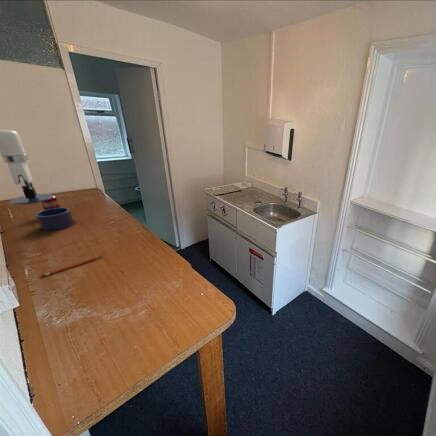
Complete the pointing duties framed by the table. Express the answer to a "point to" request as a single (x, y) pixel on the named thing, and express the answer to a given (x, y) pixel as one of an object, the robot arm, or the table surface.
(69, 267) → the pencil
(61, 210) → the pot
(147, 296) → the table surface
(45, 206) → the soda can
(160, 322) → the table surface
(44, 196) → the lid
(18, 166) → the robot arm
